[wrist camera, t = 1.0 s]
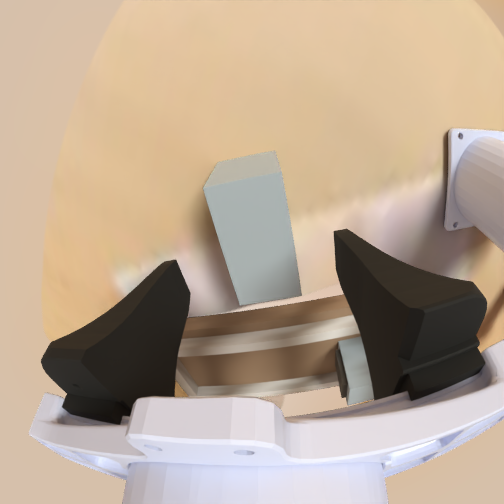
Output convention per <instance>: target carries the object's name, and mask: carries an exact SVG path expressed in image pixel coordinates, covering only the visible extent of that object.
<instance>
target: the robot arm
mask: <svg viewBox="0 0 504 504" xmlns="http://www.w3.org/2000/svg"><path fill="white" fill-rule="evenodd" d="M459 133H460V137H459V138H458V134H459ZM454 223H455V224H454ZM453 224H454V225H453ZM472 226H475V227H477V228H478V229H479V230H480V231H481V232H482V233H483V234H485V235H486V236H487V237H488V238H489V239H490V240H491V241H492V242H493V243H494V244H495V245H496V246H497V247H499V248H500V249H501V250H502V251H503V252H504V131H494V130H481V129H460V128H452V129H450V130H449V132H448V186H447V201H446V212H445V221H444V228H445V229H446V230H447V231H453V230H458V229H463V228H468V227H472ZM334 244H335V261H336V271H337V275H338V278H339V282H340V285H341V288H342V290H343V293H344V295H345V297H346V300H347V302H348V304H349V307H350V309H351V311H352V314H353V316H354V319H355V321H356V323H357V326H358V329H359V332H360V335H361V339H362V343H363V346H364V350H365V355H366V359H367V363H368V368H369V373H370V378H371V383H372V388H373V395H374V401H371V402H367V403H363V404H358V405H354V406H350V407H345V408H340V409H335V410H330V411H325V412H319V413H313V414H307V415H299V416H292V417H284V415H283V412H282V410H281V409H280V408H278V407H277V406H276V405H275V404H274V403H273V402H271V401H268V400H265V399H261V398H258V397H254V396H217V397H175V377H176V367H177V358H178V352H179V348H180V344H181V340H182V336H183V332H184V328H185V324H186V320H187V316H188V312H189V304H190V291H189V289H188V286H187V284H186V282H185V279H184V277H183V275H182V273H181V270H180V268H179V265H178V263H177V261H176V260H171V261H165V262H163V263H162V264H161V265H159V266H158V267H157V268H156V269H155V270H154V271H153V272H152V273H151V274H150V275H148V276H147V277H146V278H145V279H144V280H143V281H142V282H141V283H140V284H139V285H138V286H137V287H136V288H135V289H134V290H132V291H131V292H130V293H129V294H128V295H127V296H126V297H125V298H124V299H122V300H121V301H120V302H119V303H118V304H116V305H115V306H114V307H113V308H111V309H110V310H109V311H107V312H106V313H104V314H103V315H101V316H100V317H98V318H97V319H95V320H94V321H92V322H91V323H89V324H87V325H86V326H84V327H82V328H80V329H79V330H77V331H75V332H73V333H71V334H69V335H66V336H64V337H62V338H60V339H57V340H55V341H52V342H51V343H50V345H49V346H48V348H47V350H46V352H45V354H44V355H43V358H42V359H41V363H42V366H43V369H44V370H45V372H46V373H47V374H48V375H49V377H50V378H51V379H52V380H53V381H54V382H55V383H56V384H57V385H58V386H59V387H61V388H62V389H63V390H64V391H65V392H66V393H67V395H66V397H65V399H64V398H63V397H61V396H58V395H54V394H50V393H45V394H44V396H43V398H42V401H41V403H40V405H39V408H38V410H37V413H36V415H35V418H34V420H33V423H32V425H31V428H30V431H29V435H30V436H31V437H33V438H34V439H36V440H37V441H39V442H40V443H42V444H43V445H45V446H46V447H48V448H49V449H51V450H52V451H54V452H56V453H57V454H59V455H61V456H62V457H64V458H66V459H68V460H71V461H74V462H76V463H79V464H81V465H83V466H86V467H89V468H92V469H94V470H97V471H99V472H102V473H105V474H108V475H111V476H114V477H117V478H120V479H123V480H126V485H125V491H124V497H123V502H122V504H388V496H387V490H386V484H385V478H386V477H389V476H391V475H394V474H397V473H400V472H402V471H405V470H408V469H410V468H413V467H415V466H418V465H420V464H422V463H425V462H427V461H429V460H432V459H434V458H436V457H438V456H440V455H442V454H444V453H446V452H448V451H450V450H452V449H454V448H456V447H458V446H460V445H462V444H463V443H465V442H467V441H469V440H471V439H472V438H474V437H476V436H477V435H479V434H481V433H482V432H484V431H486V430H487V429H489V428H491V427H492V426H494V425H495V424H497V423H498V422H500V421H502V420H503V419H504V339H503V340H501V341H499V342H498V343H496V344H494V345H492V346H490V347H488V348H486V349H485V350H484V351H483V352H482V353H480V351H479V350H478V348H477V347H478V346H479V344H480V342H479V340H478V338H477V337H476V334H477V332H478V330H479V328H480V326H481V323H482V321H483V319H484V316H485V313H486V310H487V301H486V298H485V297H484V295H483V294H482V293H481V292H480V290H479V289H478V288H477V286H476V285H475V284H474V283H473V282H471V281H465V280H459V279H453V278H448V277H444V276H440V275H436V274H433V273H430V272H427V271H424V270H421V269H418V268H415V267H413V266H410V265H408V264H406V263H404V262H402V261H399V260H397V259H395V258H393V257H391V256H389V255H388V254H386V253H384V252H382V251H381V250H379V249H377V248H376V247H374V246H372V245H371V244H369V243H368V242H366V241H365V240H363V239H362V238H360V237H359V236H357V235H356V234H354V233H353V232H351V231H350V230H348V229H343V230H337V231H334Z"/></svg>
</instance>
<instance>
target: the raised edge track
mask: <svg viewBox="0 0 504 504" xmlns="http://www.w3.org/2000/svg"><path fill="white" fill-rule="evenodd" d="M175 380H176V381H177V382H178V384H179V385H180V386H181V387H182V389H183V390H184V391H185V392H186V394H187V395H188V396H189V397H217V396H254V397H266V396H276V395H284V394H292V393H299V392H305V391H312V390H318V389H324V388H330V387H335V386H339V387H340V392H341V397H342V398H344V397H346V401H347V405H351V404H356V403H360V402H364V401H368V400H372V399H374V395H373V388H372V383H371V378H370V373H369V368H368V363H367V359H366V355H365V350H364V346H363V343H362V339H361V335H360V332H359V329H358V326H357V323H356V321H355V319H354V316H353V314H352V311H351V309H350V307H349V304H348V302H347V300H346V297H345V295H344V294H343V295H339V296H333V297H328V298H323V299H317V300H311V301H305V302H300V303H294V304H288V305H282V306H275V307H269V308H263V309H255V310H248V311H242V312H233V313H226V314H218V315H210V316H201V317H192V318H187V320H186V324H185V328H184V332H183V336H182V340H181V344H180V348H179V352H178V358H177V367H176V377H175Z"/></svg>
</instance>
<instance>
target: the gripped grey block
mask: <svg viewBox="0 0 504 504" xmlns="http://www.w3.org/2000/svg"><path fill="white" fill-rule="evenodd" d="M203 190H204V193H205V197H206V200H207V203H208V207H209V210H210V213H211V216H212V220H213V223H214V226H215V229H216V233H217V236H218V239H219V242H220V245H221V249H222V252H223V255H224V258H225V261H226V264H227V267H228V270H229V273H230V277H231V280H232V283H233V286H234V289H235V292H236V295H237V298H238V301H239V304H240V305H247V304H254V303H260V302H267V301H273V300H280V299H286V298H292V297H298V296H302V293H301V286H300V279H299V272H298V266H297V259H296V253H295V246H294V240H293V234H292V228H291V222H290V216H289V210H288V204H287V199H286V193H285V188H284V182H283V177H282V172H281V168H280V165H279V162H278V159H277V155H276V152H275V151H270V152H264V153H259V154H254V155H249V156H244V157H240V158H235V159H231V160H226V161H222V162H218V163H217V165H216V166H215V168H214V170H213V171H212V173H211V175H210V177H209V178H208V180H207V182H206V184H205V185H204V187H203Z"/></svg>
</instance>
